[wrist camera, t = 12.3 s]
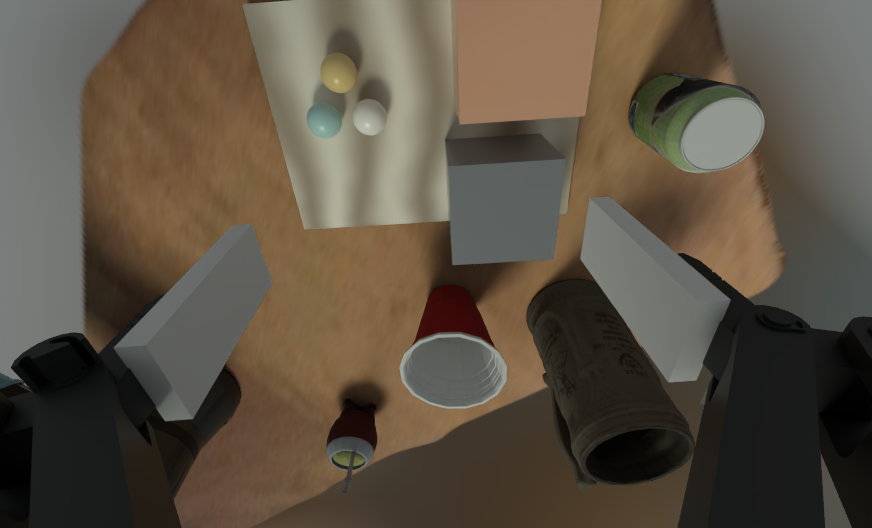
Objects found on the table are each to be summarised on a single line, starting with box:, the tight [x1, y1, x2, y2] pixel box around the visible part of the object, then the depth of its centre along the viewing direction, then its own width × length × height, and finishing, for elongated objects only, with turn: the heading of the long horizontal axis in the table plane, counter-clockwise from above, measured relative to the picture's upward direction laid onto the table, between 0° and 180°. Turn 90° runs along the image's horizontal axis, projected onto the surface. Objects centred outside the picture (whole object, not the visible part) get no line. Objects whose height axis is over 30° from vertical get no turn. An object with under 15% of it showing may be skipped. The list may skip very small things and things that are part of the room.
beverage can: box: [628, 73, 764, 173], centre depth 30 cm, size 6×7×12 cm
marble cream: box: [352, 99, 387, 135], centre depth 33 cm, size 3×3×3 cm
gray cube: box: [445, 133, 566, 265], centre depth 34 cm, size 9×9×8 cm
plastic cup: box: [399, 285, 507, 408], centre depth 43 cm, size 11×11×12 cm
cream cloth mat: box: [242, 0, 580, 229], centre depth 35 cm, size 28×20×1 cm
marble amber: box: [320, 53, 358, 93], centre depth 31 cm, size 3×3×3 cm
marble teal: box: [307, 102, 342, 138], centre depth 33 cm, size 3×3×3 cm
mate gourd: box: [326, 399, 377, 493], centre depth 52 cm, size 8×8×15 cm
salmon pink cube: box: [451, 0, 602, 124], centre depth 28 cm, size 9×9×8 cm
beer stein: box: [526, 280, 695, 491], centre depth 42 cm, size 15×11×20 cm
